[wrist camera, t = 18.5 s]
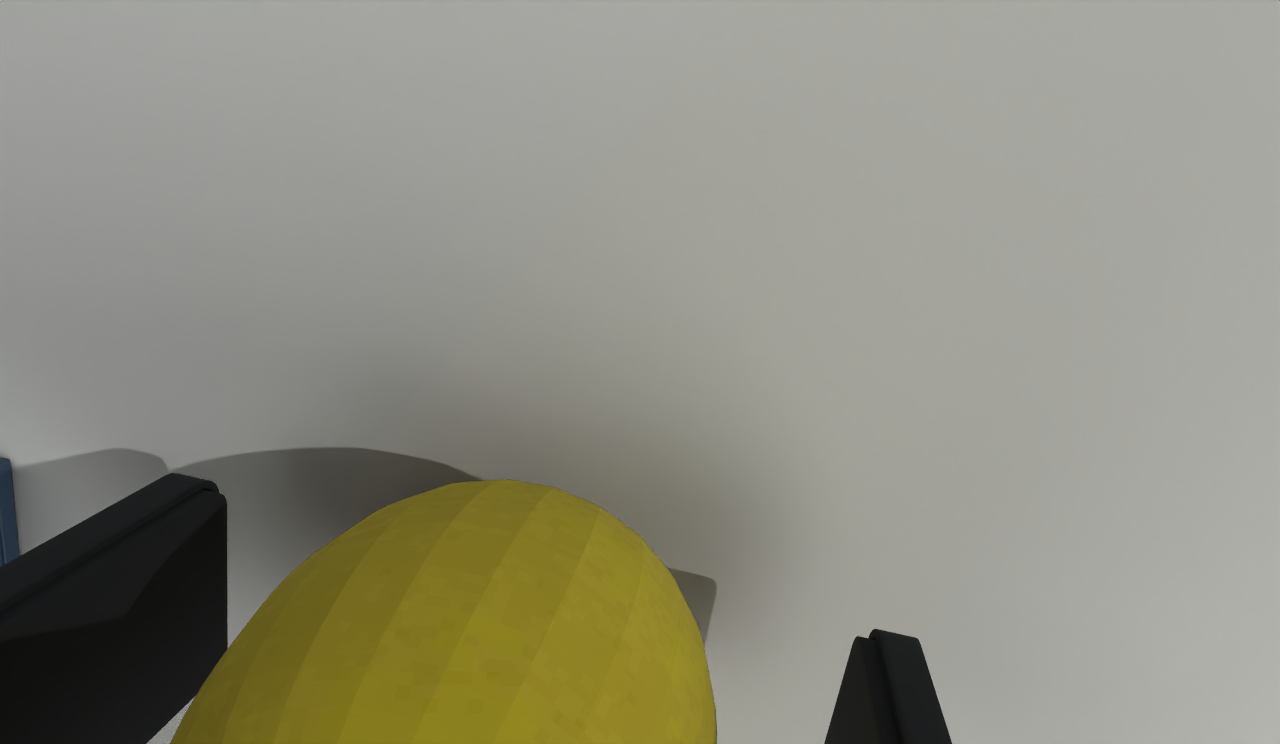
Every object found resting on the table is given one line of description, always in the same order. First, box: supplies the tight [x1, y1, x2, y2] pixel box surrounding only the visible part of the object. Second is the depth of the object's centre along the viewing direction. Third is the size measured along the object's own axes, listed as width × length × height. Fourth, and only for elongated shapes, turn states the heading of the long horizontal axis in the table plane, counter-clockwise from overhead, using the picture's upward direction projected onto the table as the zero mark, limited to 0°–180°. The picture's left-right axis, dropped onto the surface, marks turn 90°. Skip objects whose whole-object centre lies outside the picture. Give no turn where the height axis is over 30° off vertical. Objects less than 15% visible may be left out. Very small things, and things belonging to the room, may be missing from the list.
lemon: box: [170, 479, 717, 744], centre depth 9 cm, size 6×6×8 cm
